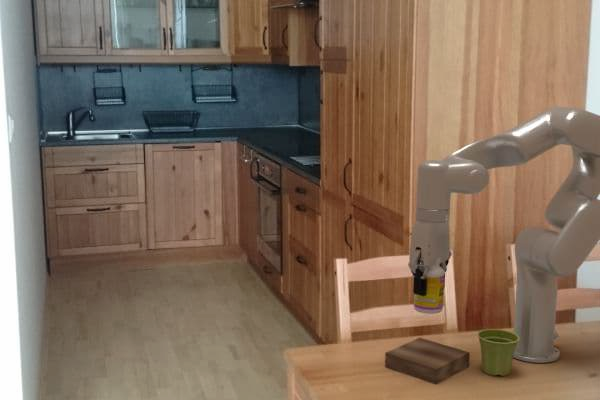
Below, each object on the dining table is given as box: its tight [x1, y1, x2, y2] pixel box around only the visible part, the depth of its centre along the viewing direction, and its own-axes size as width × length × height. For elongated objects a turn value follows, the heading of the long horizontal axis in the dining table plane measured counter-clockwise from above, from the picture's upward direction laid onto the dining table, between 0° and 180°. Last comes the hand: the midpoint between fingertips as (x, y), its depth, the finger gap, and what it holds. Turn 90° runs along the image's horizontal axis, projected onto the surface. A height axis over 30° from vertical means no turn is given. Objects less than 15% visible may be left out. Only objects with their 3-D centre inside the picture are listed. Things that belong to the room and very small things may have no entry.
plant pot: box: [476, 328, 520, 377], centre depth 174 cm, size 9×9×9 cm
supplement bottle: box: [413, 258, 445, 315], centre depth 173 cm, size 7×7×13 cm
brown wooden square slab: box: [384, 337, 471, 385], centre depth 177 cm, size 14×14×4 cm
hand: (429, 290), depth 174 cm, fingers closed on supplement bottle, 6 cm apart
